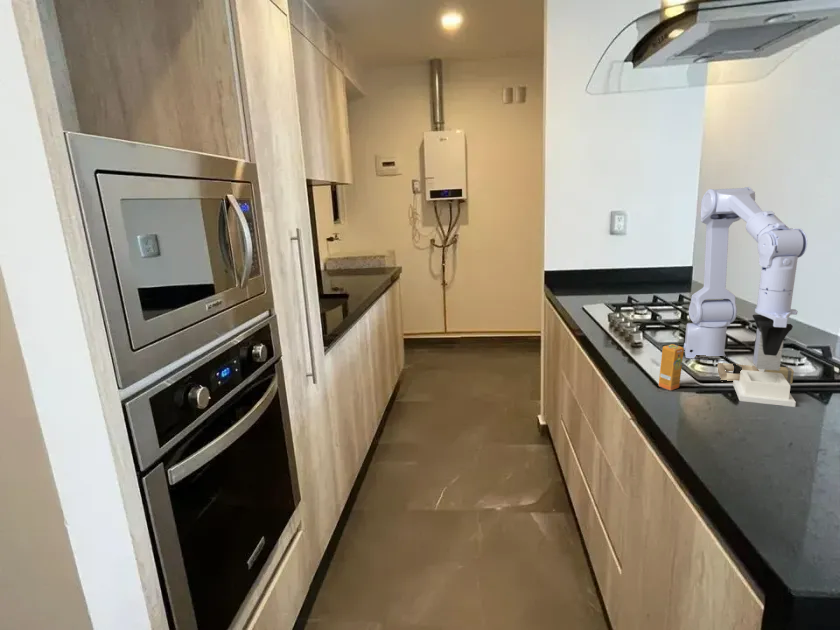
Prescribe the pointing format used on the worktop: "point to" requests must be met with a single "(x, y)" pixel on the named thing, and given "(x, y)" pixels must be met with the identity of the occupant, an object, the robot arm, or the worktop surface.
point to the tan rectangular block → (784, 373)
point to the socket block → (730, 367)
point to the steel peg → (765, 360)
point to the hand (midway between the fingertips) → (767, 351)
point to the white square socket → (763, 388)
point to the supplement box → (671, 367)
